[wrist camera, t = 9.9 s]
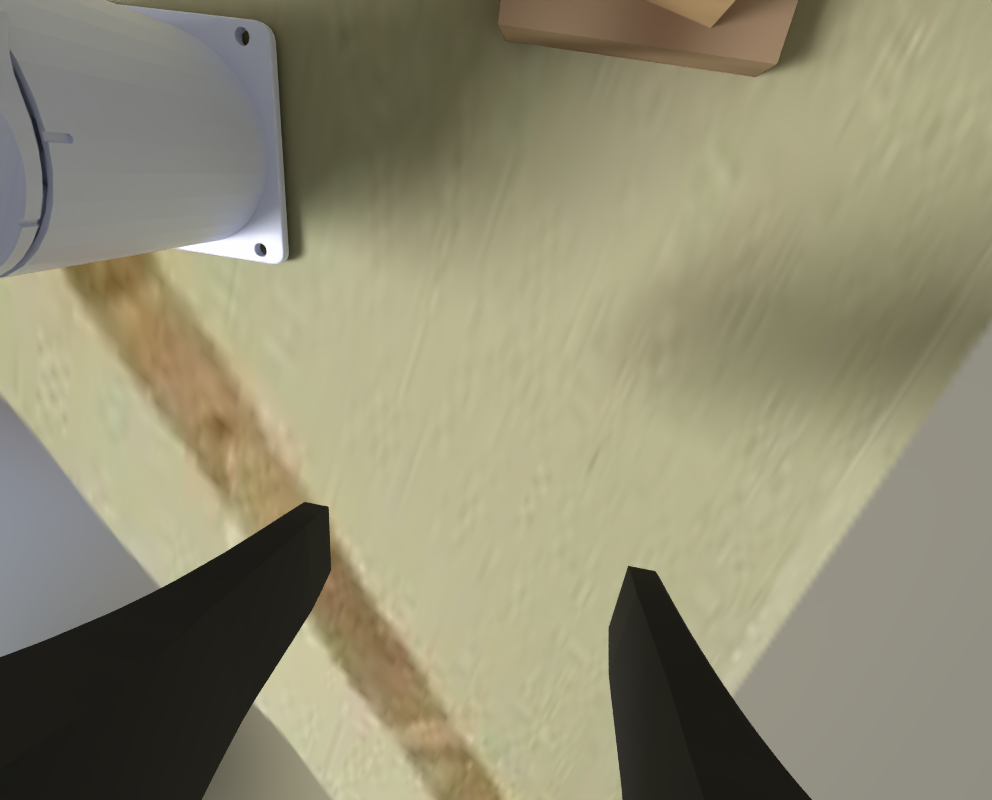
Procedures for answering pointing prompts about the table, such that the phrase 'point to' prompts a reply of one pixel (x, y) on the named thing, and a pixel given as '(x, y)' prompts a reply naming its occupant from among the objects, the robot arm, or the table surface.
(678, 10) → the top block
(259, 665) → the robot arm
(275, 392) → the table surface
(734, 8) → the base block
